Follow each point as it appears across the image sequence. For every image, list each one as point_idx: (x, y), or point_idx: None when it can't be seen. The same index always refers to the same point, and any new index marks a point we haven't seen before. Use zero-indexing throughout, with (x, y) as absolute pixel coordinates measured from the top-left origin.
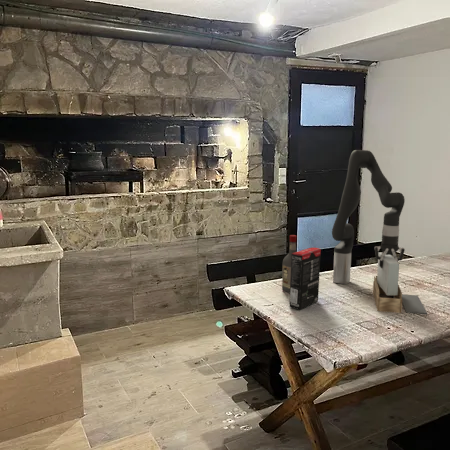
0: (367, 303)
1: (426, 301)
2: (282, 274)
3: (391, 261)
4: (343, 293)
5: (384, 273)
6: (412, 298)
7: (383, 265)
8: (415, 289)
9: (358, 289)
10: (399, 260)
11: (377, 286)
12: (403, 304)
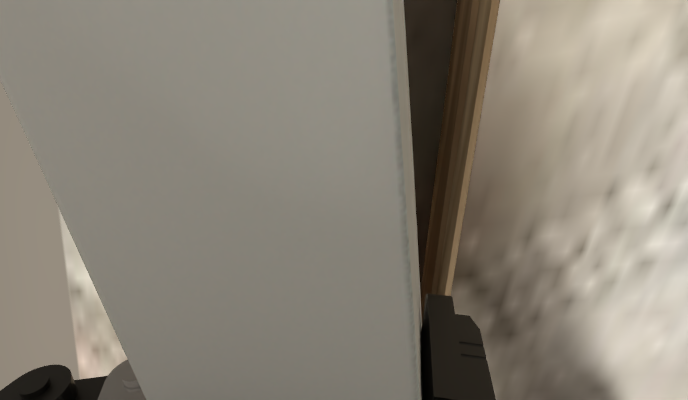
0: (515, 101)
1: None
2: None
3: (216, 67)
4: (634, 278)
5: (412, 158)
6: None
7: (418, 304)
8: None
9: (504, 346)
10: (86, 380)
11: (482, 96)
12: None
